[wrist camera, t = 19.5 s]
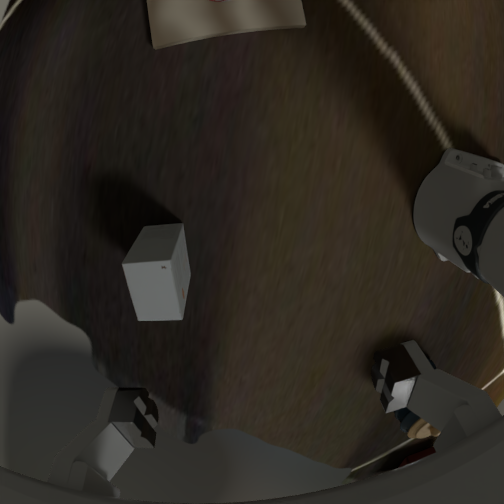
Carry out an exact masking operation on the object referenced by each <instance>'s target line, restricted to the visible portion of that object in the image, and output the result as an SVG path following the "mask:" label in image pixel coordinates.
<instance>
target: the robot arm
mask: <svg viewBox="0 0 504 504" xmlns="http://www.w3.org/2000/svg"><path fill="white" fill-rule="evenodd" d="M456 156H457V159H456ZM413 216H414V225H415V229H416V231H417V234H418V236H419V237H420V239H421V240H422V241H423V242H424V243H425V244H427V245H428V246H430V247H431V248H433V249H434V251H435V254H436V255H437V257H438V258H439V259H440V260H442V261H446V260H449V261H451V262H452V263H454V264H455V265H457V266H458V267H460V268H461V269H463V270H464V271H466V272H472V274H473V275H474V276H475V277H476V278H478V279H480V280H481V281H483V282H485V283H488V284H490V285H492V286H493V287H494V288H495V289H496V290H497V291H498V292H499V293H500V294H501V295H502V296H503V297H504V164H502V163H500V162H497V161H494V160H491V159H488V158H485V157H482V156H478V155H475V154H471V153H468V152H464V151H461V150H457V149H453V148H448V149H447V150H446V151H445V152H444V154H443V156H442V158H441V160H440V163H439V164H438V165H437V166H436V167H435V168H434V169H433V170H432V171H431V172H430V173H429V174H428V175H427V176H426V178H425V179H424V181H423V182H422V184H421V186H420V188H419V190H418V193H417V196H416V199H415V204H414V214H413ZM373 359H374V361H375V364H374V365H373V366H372V370H371V376H372V382H373V385H374V388H375V390H376V391H378V392H380V393H381V396H380V401H381V403H382V406H383V408H384V410H385V412H386V413H388V412H392V411H395V410H398V409H401V408H404V407H407V408H408V409H409V410H411V411H412V412H413V413H415V414H416V415H418V416H419V417H420V418H422V419H423V420H425V421H426V422H428V423H429V424H430V425H432V426H433V427H435V428H436V429H438V430H439V431H440V432H441V433H440V435H439V436H438V438H437V439H436V441H435V443H434V445H433V446H434V448H435V450H436V453H433V454H431V455H429V456H427V457H424V458H422V459H419V460H417V461H415V462H412V463H410V464H407V465H404V466H402V467H399V468H396V469H394V470H391V471H388V472H385V473H382V474H379V475H376V476H373V477H370V478H367V479H363V480H360V481H356V482H353V483H349V484H345V485H342V486H338V487H334V488H330V489H325V490H321V491H316V492H311V493H306V494H300V495H295V496H288V497H282V498H275V499H267V500H257V501H248V502H233V503H208V504H504V415H503V416H502V415H501V414H500V412H499V411H498V409H497V407H496V406H495V404H494V403H493V401H492V400H491V398H490V397H489V395H488V394H487V392H486V391H484V390H481V389H479V388H477V387H475V386H473V385H471V384H469V383H467V382H465V381H462V380H460V379H458V378H456V377H454V376H452V375H450V374H448V373H446V372H444V371H442V370H439V369H435V370H434V368H433V367H432V365H431V364H430V362H429V361H428V359H427V358H426V356H425V355H424V353H423V352H422V350H421V349H420V347H419V346H418V344H417V343H416V341H414V340H411V341H408V342H404V343H401V344H397V345H394V346H391V347H387V348H384V349H380V350H377V351H375V353H374V357H373ZM148 396H149V392H148V391H147V389H146V388H107V389H106V390H105V392H104V395H103V399H102V402H101V405H100V408H99V411H98V415H97V418H96V421H93V422H91V423H90V424H89V425H88V426H87V427H86V428H85V429H84V430H82V431H81V432H80V433H79V434H78V435H77V436H76V437H75V438H74V439H73V440H72V441H71V442H70V443H69V444H67V445H66V446H65V447H64V448H63V449H62V450H61V451H60V452H59V453H58V454H57V455H55V459H54V461H53V465H52V468H51V472H50V475H49V479H48V482H44V481H41V480H37V479H35V478H31V477H28V476H25V475H23V474H20V473H17V472H14V471H11V470H9V469H6V468H4V467H1V466H0V504H187V503H163V502H149V501H139V500H131V499H123V498H119V496H120V490H119V489H118V488H117V487H116V486H114V485H113V484H112V483H111V482H109V481H110V480H111V479H112V477H113V476H114V475H115V473H116V472H117V471H118V470H119V468H120V467H121V466H122V464H123V463H124V462H125V460H126V459H127V458H128V456H129V455H130V454H131V452H132V451H133V450H134V448H154V446H155V439H156V432H155V431H154V429H153V428H154V427H155V426H156V425H157V424H158V418H159V416H158V409H157V406H156V404H155V402H154V400H152V399H150V398H148ZM188 504H189V503H188ZM206 504H207V503H206Z"/></svg>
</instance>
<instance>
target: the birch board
mask: <svg viewBox="0 0 504 504" xmlns="http://www.w3.org/2000/svg"><path fill="white" fill-rule="evenodd" d="M147 7H148V14H149V22H150V29H151V36H152V43H153V48H154V49H156V50H157V49H161V48H165V47H169V46H173V45H177V44H181V43H186V42H190V41H195V40H200V39H205V38H211V37H217V36H223V35H229V34H236V33H244V32H252V31H262V30H273V29H289V28H304V27H305V26H306V21H305V16H304V11H303V6H302V1H301V0H231V1H226V2H214V1H209V0H147Z"/></svg>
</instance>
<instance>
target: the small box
mask: <svg viewBox="0 0 504 504" xmlns="http://www.w3.org/2000/svg"><path fill="white" fill-rule="evenodd" d="M122 266H123V270H124V274H125V278H126V281H127V285H128V288H129V292H130V295H131V299H132V302H133V305H134V309H135V312H136V315H137V318H138V321H158V320H182V319H183V315H184V309H185V303H186V297H187V291H188V286H189V281H190V275H191V273H190V267H189V260H188V254H187V247H186V241H185V234H184V226H183V223H178V224H165V225H154V226H144V227H143V229H142V231H141V232H140V234H139V235H138V237H137V239H136V240H135V242H134V244H133V245H132V247H131V249H130V250H129V252H128V254H127V255H126V257H125V259H124V261H123V262H122Z"/></svg>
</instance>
